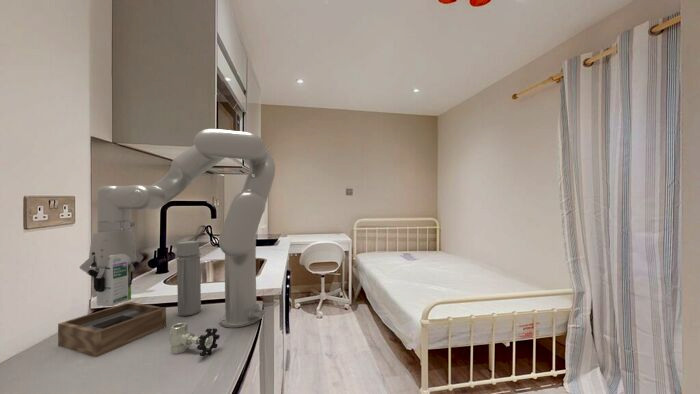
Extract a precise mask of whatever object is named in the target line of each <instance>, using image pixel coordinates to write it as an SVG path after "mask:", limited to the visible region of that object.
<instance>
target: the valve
mask: <svg viewBox="0 0 700 394" xmlns="http://www.w3.org/2000/svg"><path fill="white" fill-rule="evenodd" d="M204 332H205V333H206V334H202V335H200V336H195V333H193V332H188V323H187V322H178V323H176V324H173V325H172V326H171V327H170V336H169V344H170V354H172V355H173V354H174V355H178V353H179V354H182V353H185V352H186V351H187V349H188V347H190V346H191V345H197V346H196V350H198V351H201V352H199V357H205V356H208V355H209V356H211V355H212V354H213V351H212V350H213V349H217V348H218V347H219V345H218V343H217V340H219V339H220V336H221V335H220V334H217V332H218V328H214V327H212V328H210V327H209V328H206V329H205V331H204ZM210 337H212V338H210ZM207 346H209V347H207ZM184 351H185V352H184ZM181 352H182V353H181Z"/></svg>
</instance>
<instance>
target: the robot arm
mask: <svg viewBox="0 0 700 394" xmlns="http://www.w3.org/2000/svg"><path fill="white" fill-rule="evenodd" d="M193 142H194V143H193V145H192V146H190V147H189V148H188V149H186V150H184V151H183V152H181V153H180V154H178V155H177V156H176V157H174V158H173V159H172V161H171V165H170V169H169V170H168V172H167V173H166V174H165V175H164V176H163V177H162V178H161V179H159V180H158V181H156V182H154V183H153V184H151V185H145V184H132V185H124V186H123V185H102V186H100V187H99V188H98V189H97V198H96V199H97V201H96V202H97V205H96V207H97V211H96V213H97V214H96V215H97V221H96V224H97V226H96V227H97V228H96V229H97V230H96V232H93V234H92V238H91V241H90V246H89V256H88V258H87V259H86V260H85V261H84V262H83V263H82V264H81V265H80V266H79V269H80V270H81V271H83V272H84V273H86V275H87V274H88V275H89V276H90V277H91V278H93V290H94V291H95V292H96V291H97V292H103V291H104V281H105V279H104V277H102V275H103V273H104V271H105V269H106V267H108V264H109V256H110V255H117V254H126V255H127V256H129V257H130V266H131V285H132V281H133V277H134V276H133V272H135V269H136V268H137V266H139V264H140V263H141V261H142V260H143V259H144V256H143V255H142V254H140V253H139V252H138V251H136V250H137V248H136V247H137V246H136V240H135V235H134V231H133V230H131V229H132V228H133V227H135V225H136V224H135V222H133V221H131V210H133V211H134V210H135V211H136V210H137V211H138V210H139V211H145V210H156V209H160V208H161V207H163V206H164V205H167V204H168V203H169V202H170V201H172V200H174V199H175V198H177V197H178V196H179V195H180V194H181V193H182V192H184V191H185V190H186V189H187V188H188V187H189V186H190V185H191V184H192V183H193V182H194V181H195V180H196V179H198V178H199V177H200V176H201V175H202V176H203V174H204V173H206V172H208V171H209V170H211V168H213V167H215V166H216V165H217V164H219V163H221V162H222V161H223V160H224V159H225V158H227V159H237V160H238V159H240V160H243V161H244V162H245V163H246V164H247V165H248V167H249V168H248V173H247V176H246V177H245V181H244V184H243V187H242V190H241V192H239V193H238V194H236V196H235V197H234V198H233V199H232V201H231V203H230V206H229V209H228V211H227V213H226V217H225V220H224V222H223V225H222V227H221V231H220V232H219V238H218V244H219V245H218V246H219V248H220V250H221V251H222V253H223V254H224V296H225V297H224V298H225V299H224V303H225V304H224V305H225V306H224V307H225V314H224V315H223V316H222V317H221V318H220V320H219V323H220V325H221V326H222V327H224V328H232V329H233V328H241V327H247V326H250V325H252V324H255V323H256V322H258V321H260V320H261V319H263V317H264V315H265V314H266V310H265V309H260V304H258V303H257V274H256V270H257V268H256V267H257V266H256V265H257V263H256V259H257V258H256V257H257V256H256V254H257V253H256V252H257V250H256V249H257V248H256V247H257V246H256V245H257V239H256V237H257V236H256V234H257V231H258V228H259V225H260V222H261V220H262V216H263V214H264V213H265V209H266V204H267V202H268V197H269V196H270V192H271V188H272V186H273V185H272V184H273V182H274V179H275V175H276V166H275V162H274V158H273V157H272V155H271V153H270V152H269V150H268V149H266V146H265V142H264V141H263V139H262V138H261V137H260V136H259V135H258V134H255V133H253V132H249V131H240V130H229V129H220V128H205V129H202V130H200V131H198V133H197V134H196V135H195V137H194V141H193ZM91 267H92V268H91ZM93 268H94V269H93Z"/></svg>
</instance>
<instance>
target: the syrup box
mask: <svg viewBox="0 0 700 394" xmlns="http://www.w3.org/2000/svg"><path fill="white" fill-rule="evenodd" d="M102 277H104V279H105V281H104V291H103V292H97V291H95V292H96V305H97V306H103V307H105V306H106V307H115V306H117V305H118V304H122V303H124V302H127V301H130V300H131V299H132V286H131V285H132V284H131V266H130V257H129V256H127V255H126V254H117V255H110V256H109V264H108V267H106V269H105V271H104V273H103V275H102Z"/></svg>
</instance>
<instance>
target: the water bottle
mask: <svg viewBox="0 0 700 394" xmlns="http://www.w3.org/2000/svg"><path fill="white" fill-rule="evenodd" d="M175 255H176V256H175V260H176V272H177V274H176V275H177V277H176V278H177V279H176V280H177V282H176V283H177V288H176V289H177V314H178V316H180V317H188V316H190V317H191V316H193V315H196V314H198V313H199V312H201V309H202V295H201V294H202V289H201V280H202V279H201V255H202V254H201V251H200V243H199V241H198V240H189V241H180V242H177V245H176V254H175Z"/></svg>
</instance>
